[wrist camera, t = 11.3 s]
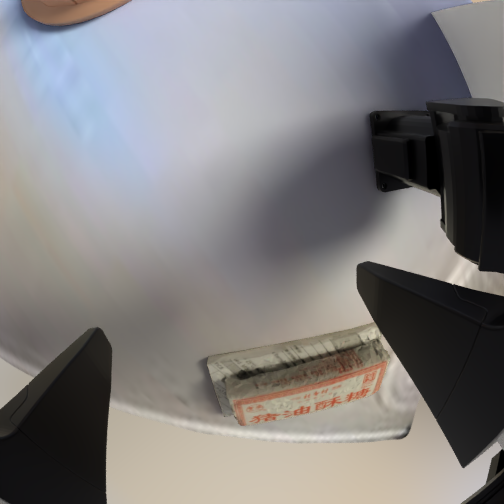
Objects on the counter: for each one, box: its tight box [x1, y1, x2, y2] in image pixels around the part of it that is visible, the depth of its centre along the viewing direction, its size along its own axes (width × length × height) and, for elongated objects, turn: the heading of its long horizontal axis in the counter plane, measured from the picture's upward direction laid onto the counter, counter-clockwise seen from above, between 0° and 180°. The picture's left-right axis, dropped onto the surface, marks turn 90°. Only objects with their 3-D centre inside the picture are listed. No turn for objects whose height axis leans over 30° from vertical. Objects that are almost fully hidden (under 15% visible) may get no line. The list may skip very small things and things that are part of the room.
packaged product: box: [207, 322, 390, 426], centre depth 26 cm, size 18×5×10 cm
